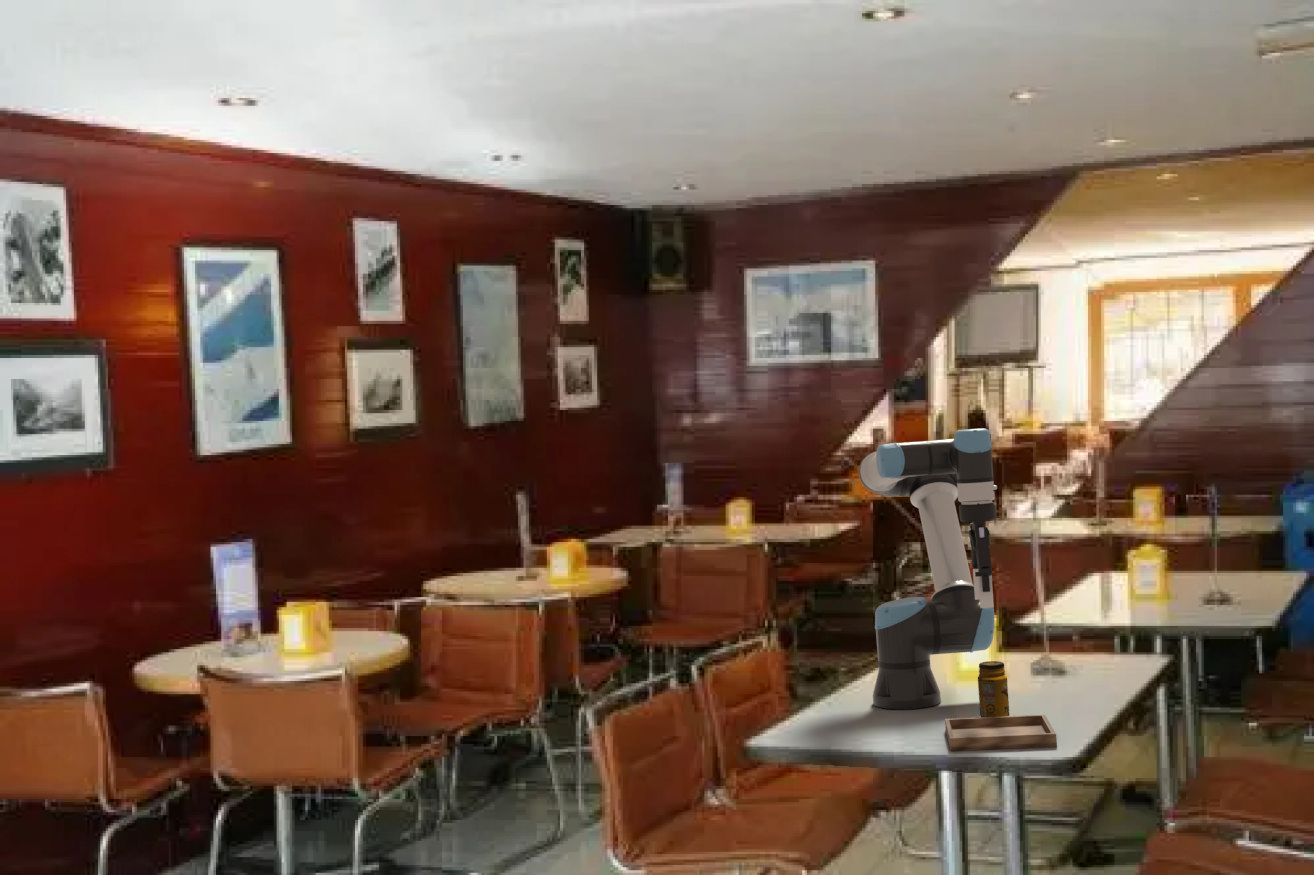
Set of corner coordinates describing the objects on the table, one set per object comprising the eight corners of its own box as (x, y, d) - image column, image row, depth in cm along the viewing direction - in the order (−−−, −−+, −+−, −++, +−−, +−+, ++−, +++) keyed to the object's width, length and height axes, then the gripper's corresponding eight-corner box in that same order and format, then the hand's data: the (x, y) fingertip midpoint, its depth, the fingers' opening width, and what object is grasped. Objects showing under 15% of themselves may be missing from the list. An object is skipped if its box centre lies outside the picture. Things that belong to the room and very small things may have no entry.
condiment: (1018, 718, 312) (1014, 661, 312) (991, 726, 307) (986, 668, 307) (992, 714, 318) (988, 658, 318) (964, 721, 313) (960, 664, 313)
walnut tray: (950, 751, 287) (949, 738, 287) (945, 731, 305) (944, 719, 305) (1057, 746, 285) (1056, 733, 284) (1045, 726, 302) (1044, 714, 302)
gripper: (1000, 504, 299) (1008, 610, 300) (989, 497, 324) (996, 594, 324) (963, 507, 300) (970, 612, 301) (954, 500, 325) (961, 596, 325)
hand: (984, 603), depth 312 cm, fingers open, 13 cm apart
